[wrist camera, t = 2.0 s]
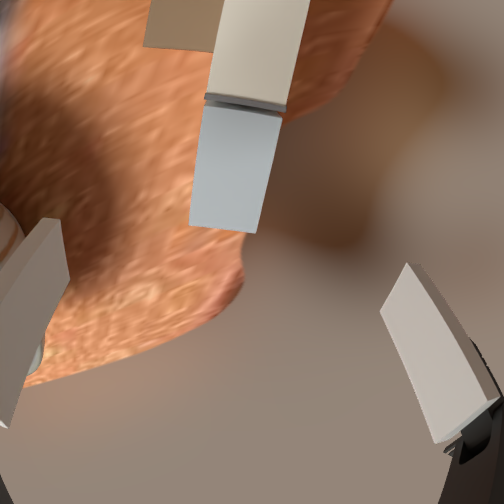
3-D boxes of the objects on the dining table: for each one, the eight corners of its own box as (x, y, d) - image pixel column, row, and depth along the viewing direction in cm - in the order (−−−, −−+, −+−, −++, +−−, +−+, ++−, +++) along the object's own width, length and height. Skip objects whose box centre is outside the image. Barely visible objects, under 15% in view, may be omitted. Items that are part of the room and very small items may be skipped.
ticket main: (156, 75, 23) (107, 92, 13) (173, -19, 18) (137, -64, 8) (262, 88, 25) (287, 113, 15) (283, -5, 20) (324, -42, 10)
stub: (201, 160, 28) (188, 225, 18) (213, 85, 24) (204, 105, 14) (245, 166, 28) (255, 233, 19) (260, 92, 25) (282, 118, 15)
